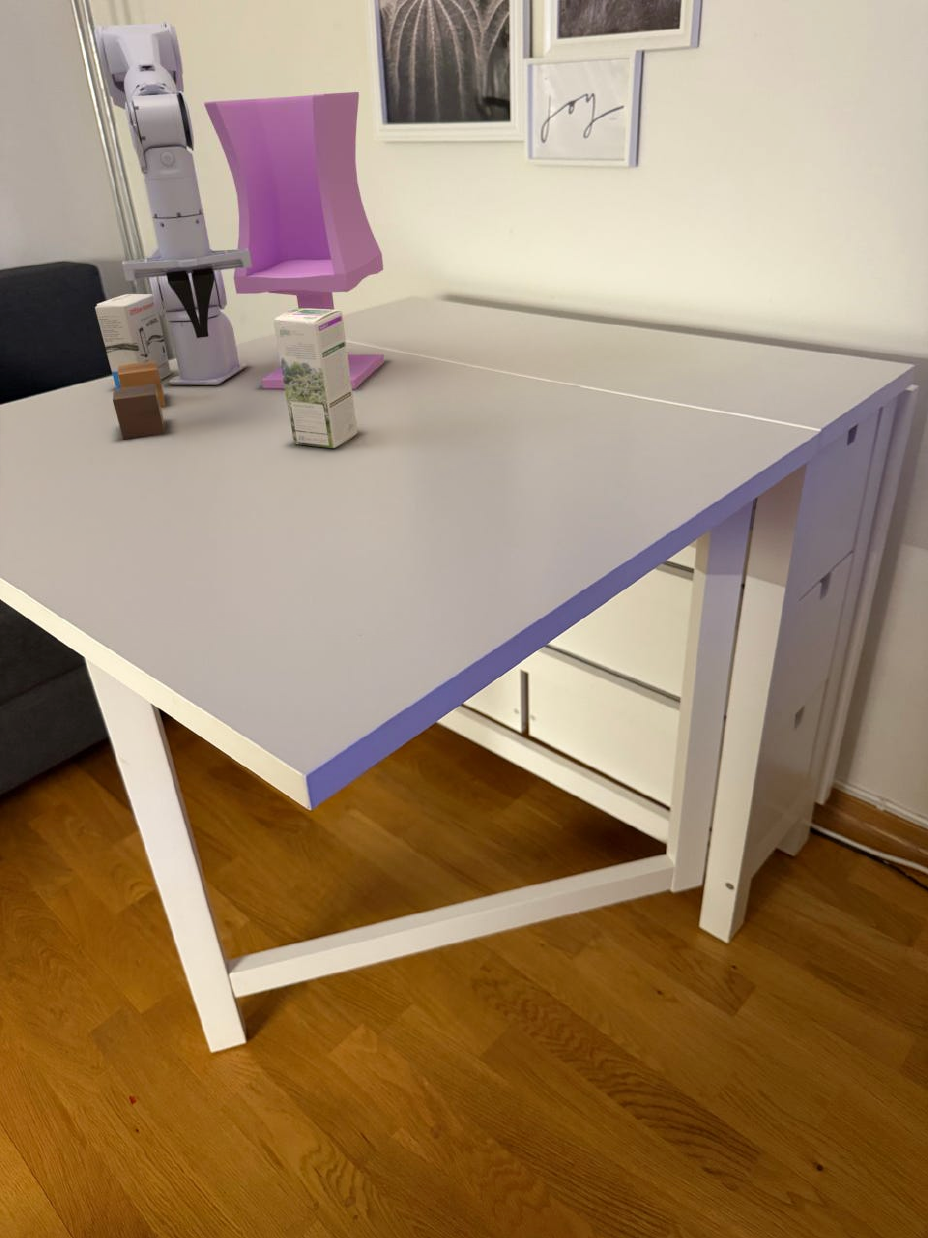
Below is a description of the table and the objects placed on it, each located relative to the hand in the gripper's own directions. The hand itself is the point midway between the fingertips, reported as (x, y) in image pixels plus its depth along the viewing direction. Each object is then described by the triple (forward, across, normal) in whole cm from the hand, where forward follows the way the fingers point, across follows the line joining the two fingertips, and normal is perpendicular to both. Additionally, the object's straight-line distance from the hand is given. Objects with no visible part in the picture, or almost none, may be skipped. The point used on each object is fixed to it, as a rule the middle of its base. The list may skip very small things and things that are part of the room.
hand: (202, 335), depth 110 cm
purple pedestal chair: (+11, +16, +14) cm, 24 cm away
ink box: (+11, -9, +24) cm, 27 cm away
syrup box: (+11, +11, -15) cm, 21 cm away
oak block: (+10, -9, +12) cm, 18 cm away
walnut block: (+10, -9, -1) cm, 14 cm away
